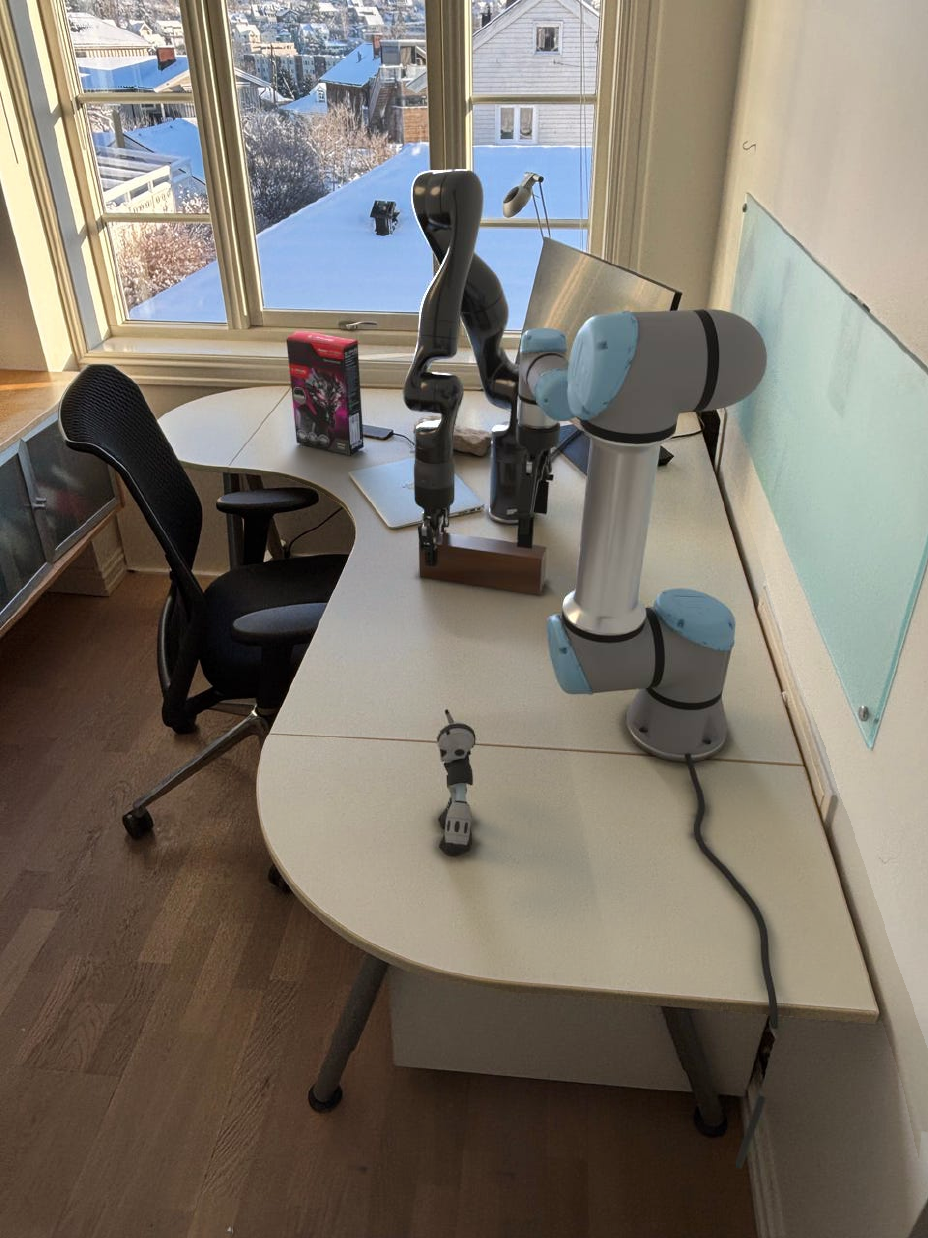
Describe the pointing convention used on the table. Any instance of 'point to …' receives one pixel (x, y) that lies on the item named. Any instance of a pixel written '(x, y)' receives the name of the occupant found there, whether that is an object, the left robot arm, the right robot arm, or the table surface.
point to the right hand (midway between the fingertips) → (532, 529)
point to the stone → (465, 437)
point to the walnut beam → (487, 563)
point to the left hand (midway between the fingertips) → (435, 557)
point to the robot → (456, 785)
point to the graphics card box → (326, 391)
